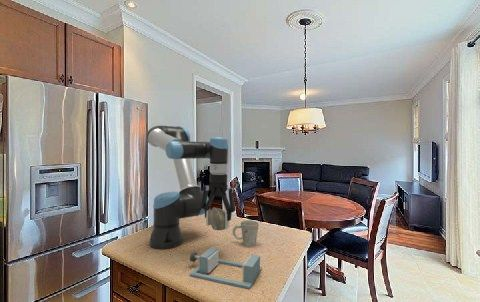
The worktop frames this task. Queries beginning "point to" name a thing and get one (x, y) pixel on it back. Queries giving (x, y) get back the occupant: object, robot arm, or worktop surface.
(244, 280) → the vise
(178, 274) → the worktop surface
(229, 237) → the worktop surface
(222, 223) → the garlic bulb
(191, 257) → the jaw
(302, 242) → the worktop surface
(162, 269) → the worktop surface
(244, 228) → the mug
